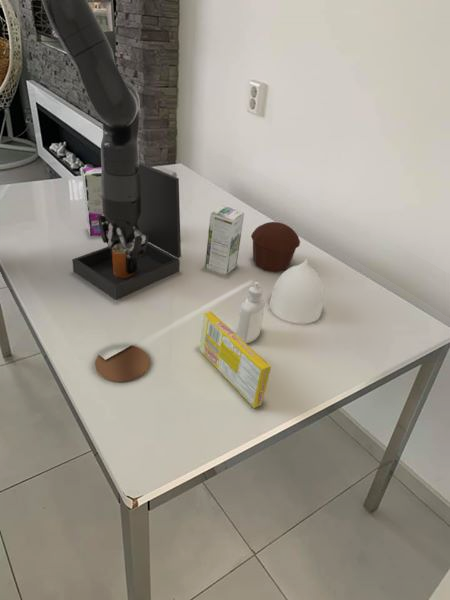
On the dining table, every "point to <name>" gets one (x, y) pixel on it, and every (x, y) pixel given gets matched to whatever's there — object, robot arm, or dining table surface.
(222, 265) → the syrup box
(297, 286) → the teardrop
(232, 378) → the candy box
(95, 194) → the candy bar box
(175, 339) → the dining table surface
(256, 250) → the muffin
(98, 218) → the robot arm
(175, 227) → the box lid
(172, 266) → the open lid tray box
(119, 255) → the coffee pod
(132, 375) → the coaster
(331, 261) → the dining table surface
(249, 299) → the eye dropper bottle
